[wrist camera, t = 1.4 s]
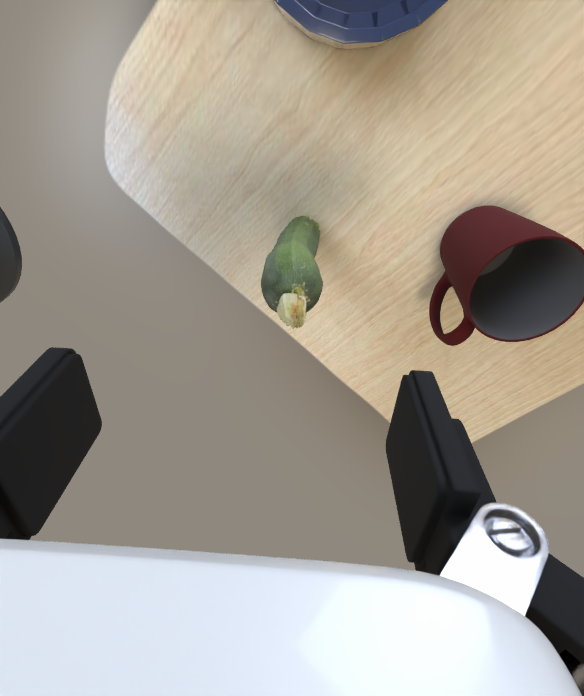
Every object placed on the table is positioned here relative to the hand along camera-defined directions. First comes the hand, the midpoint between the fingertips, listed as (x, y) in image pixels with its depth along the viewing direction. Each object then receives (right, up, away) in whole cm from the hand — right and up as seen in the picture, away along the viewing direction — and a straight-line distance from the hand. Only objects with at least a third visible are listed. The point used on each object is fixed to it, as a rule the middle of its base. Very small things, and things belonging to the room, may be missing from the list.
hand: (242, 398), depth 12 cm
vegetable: (+2, +14, +27) cm, 31 cm away
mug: (+19, +11, +28) cm, 36 cm away
